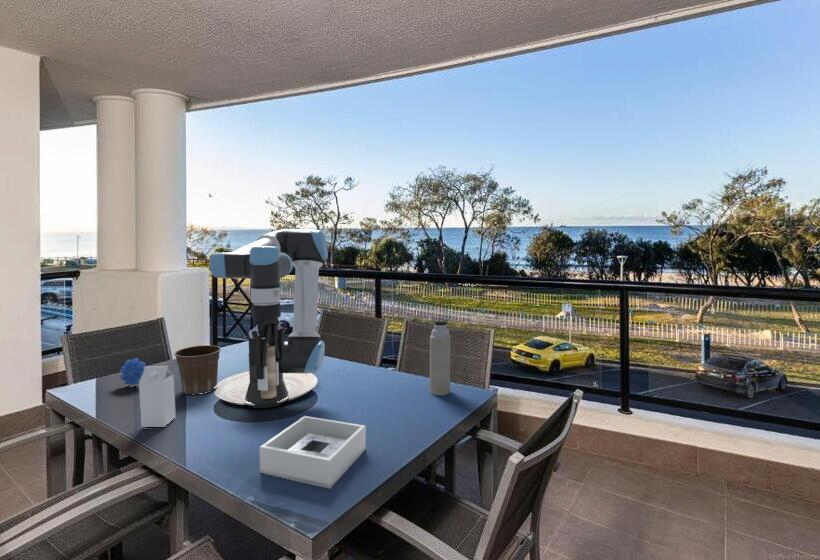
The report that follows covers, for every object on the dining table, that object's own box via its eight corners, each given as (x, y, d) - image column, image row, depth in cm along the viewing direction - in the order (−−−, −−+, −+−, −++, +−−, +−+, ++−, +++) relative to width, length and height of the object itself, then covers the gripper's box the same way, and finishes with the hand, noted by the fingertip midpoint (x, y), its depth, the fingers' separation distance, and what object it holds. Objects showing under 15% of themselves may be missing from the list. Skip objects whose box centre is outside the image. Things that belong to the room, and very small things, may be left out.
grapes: (155, 384, 171) (153, 355, 170) (142, 389, 165) (140, 360, 164) (130, 382, 173) (128, 354, 172) (116, 388, 166) (114, 359, 165)
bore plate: (283, 464, 108) (283, 453, 108) (308, 443, 119) (308, 433, 119) (323, 472, 104) (323, 461, 104) (346, 450, 115) (346, 439, 115)
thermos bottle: (425, 392, 162) (426, 322, 160) (436, 386, 169) (436, 318, 166) (443, 397, 158) (444, 324, 155) (453, 391, 164) (454, 321, 162)
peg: (258, 397, 114) (256, 347, 113) (267, 392, 118) (266, 344, 116) (270, 399, 112) (268, 348, 111) (279, 394, 116) (278, 345, 115)
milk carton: (153, 419, 137) (150, 363, 136) (175, 418, 138) (173, 362, 136) (141, 429, 130) (137, 370, 129) (165, 428, 131) (162, 369, 129)
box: (260, 473, 106) (259, 446, 105) (304, 438, 124) (304, 415, 124) (329, 488, 99) (329, 460, 98) (365, 449, 118) (365, 425, 117)
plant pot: (199, 400, 154) (197, 357, 153) (166, 395, 159) (164, 353, 158) (231, 385, 170) (229, 347, 168) (200, 381, 175) (198, 343, 173)
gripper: (256, 308, 103) (258, 399, 106) (296, 299, 119) (298, 379, 121) (232, 307, 106) (235, 396, 108) (274, 298, 122) (276, 376, 124)
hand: (268, 386), depth 115 cm, fingers closed on peg, 4 cm apart
